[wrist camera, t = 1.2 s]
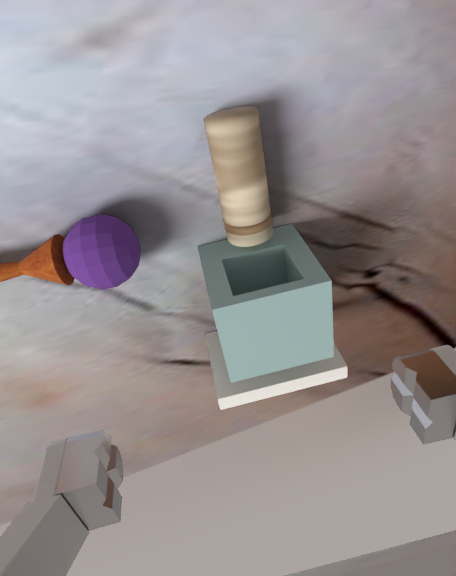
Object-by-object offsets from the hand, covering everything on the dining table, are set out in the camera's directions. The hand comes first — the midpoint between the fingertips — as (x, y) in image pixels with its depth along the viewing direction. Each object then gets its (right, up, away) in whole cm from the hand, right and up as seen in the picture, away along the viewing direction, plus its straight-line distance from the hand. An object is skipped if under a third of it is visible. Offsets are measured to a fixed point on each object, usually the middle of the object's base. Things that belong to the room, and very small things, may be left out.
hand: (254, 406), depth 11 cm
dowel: (0, +13, +23) cm, 26 cm away
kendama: (-18, +6, +24) cm, 31 cm away
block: (+2, +5, +28) cm, 29 cm away
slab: (+3, -1, +33) cm, 33 cm away
